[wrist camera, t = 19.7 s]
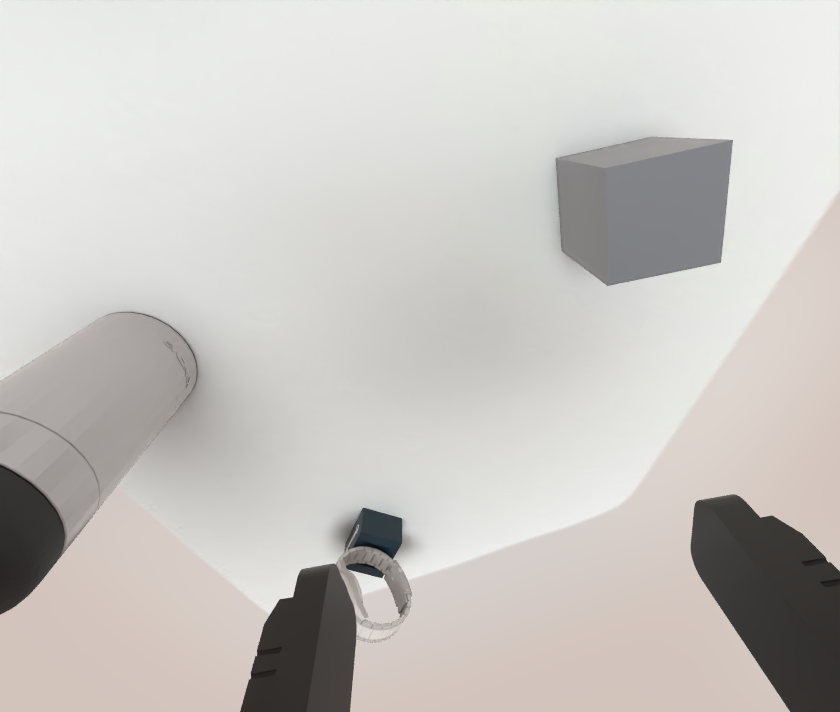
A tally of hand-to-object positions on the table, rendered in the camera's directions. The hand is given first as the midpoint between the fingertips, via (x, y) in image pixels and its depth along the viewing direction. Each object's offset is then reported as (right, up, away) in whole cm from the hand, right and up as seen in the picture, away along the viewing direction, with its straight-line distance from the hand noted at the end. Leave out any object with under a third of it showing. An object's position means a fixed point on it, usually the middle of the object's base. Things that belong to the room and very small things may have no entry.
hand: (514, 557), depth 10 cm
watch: (-7, -14, +38) cm, 42 cm away
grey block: (+12, +16, +24) cm, 31 cm away
